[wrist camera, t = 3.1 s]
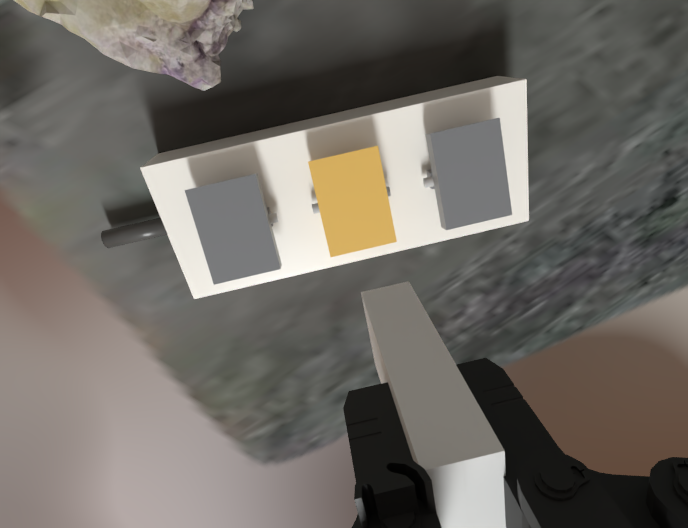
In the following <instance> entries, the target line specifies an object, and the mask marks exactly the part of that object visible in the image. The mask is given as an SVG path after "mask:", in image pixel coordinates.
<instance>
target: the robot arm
mask: <svg viewBox="0 0 688 528" xmlns="http://www.w3.org/2000/svg"><path fill="white" fill-rule="evenodd" d="M361 295H362V300H363V305H364V310H365V315H366V320H367V325H368V330H369V335H370V340H371V345H372V350H373V356H374V361H375V365H376V368H377V371H378V375H379V378H380V381H381V384H378V385H374V386H369V387H365V388H361V389H357V390H352V391H349V393H348V396H347V399H346V402H345V405H344V407H343V409H344V415H345V420H346V426H347V432H348V438H349V443H350V449H351V455H352V460H353V466H354V472H355V478H356V485H355V497H354V500H355V503H356V507H357V511H358V515H357V518H356V521H355V522H354V525H353V526H352V528H688V458H679V457H678V458H677V457H672V458H668V459H665V460H661V461H659V462H658V463H657V464H656V465H655V466H654V467H653V468H652V469H651V473H650V477H645V476H627V475H612V474H605V473H599V472H596V471H593V470H590V469H588V468H587V467H586V466H585V465H584V464H583V463H581V462H580V461H578V460H576V459H574V458H572V457H570V456H568V455H565V454H564V453H563V451H562V450H561V449H560V448H559V447H558V446H557V444H556V443H555V441H554V440H553V439H552V437H551V436H550V434H549V433H548V431H547V430H546V429H545V427H544V426H543V424H542V423H541V422H540V420H539V419H538V417H537V416H536V415H535V413H534V412H533V410H532V409H531V408H530V406H529V405H528V404H527V402H526V401H525V400H524V399H523V396H522V395H521V394H520V392H519V391H518V389H517V388H516V387H514V384H513V382H512V381H511V380H510V378H509V377H508V375H507V374H506V372H505V371H504V370H503V369H502V368H501V367H499V366H498V365H496V364H495V363H493V362H492V361H490V360H488V359H487V358H483V359H479V360H474V361H470V362H466V363H462V364H457V365H456V364H455V362H454V360H453V359H452V357H451V355H450V353H449V352H448V350H447V348H446V346H445V345H444V343H443V341H442V339H441V338H440V336H439V334H438V332H437V330H436V329H435V327H434V325H433V323H432V322H431V320H430V318H429V316H428V315H427V313H426V311H425V309H424V307H423V306H422V304H421V302H420V300H419V299H418V297H417V295H416V293H415V292H414V290H413V288H412V286H411V285H410V283H409V281H408V282H404V283H400V284H395V285H391V286H386V287H382V288H378V289H373V290H369V291H364V292H361Z"/></svg>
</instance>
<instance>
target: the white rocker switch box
mask: <svg viewBox="0 0 688 528" xmlns="http://www.w3.org/2000/svg"><path fill="white" fill-rule="evenodd" d="M495 118H500V124H501V131H502V139H503V147H504V155H505V162H506V170H507V178H508V185H509V193H510V201H511V209H512V215H510V216H505V217H501V218H497V219H493V220H488V221H484V222H480V223H475V224H471V225H467V226H463V227H458V228H454V229H450V230H445V229H443V228H441V223H440V217H439V211H438V205H437V200H436V194H435V188H434V182H433V176H432V170H431V164H430V159H429V153H428V147H427V141H426V135H425V134H430V133H434V132H438V131H443V130H447V129H451V128H456V127H460V126H464V125H469V124H473V123H477V122H482V121H486V120H490V119H495ZM373 146H378V148H379V154H380V159H381V164H382V169H383V174H384V179H385V184H386V189H387V194H388V199H389V204H390V209H391V214H392V219H393V224H394V230H395V235H396V240H397V242H394V243H390V244H386V245H382V246H377V247H373V248H369V249H364V250H360V251H356V252H352V253H347V254H343V255H339V256H335V257H330V253H329V249H328V244H327V240H326V236H325V232H324V227H323V223H322V219H321V215H320V211H319V206H318V202H317V198H316V194H315V190H314V185H313V181H312V177H311V173H310V168H309V164H308V161H313V160H317V159H321V158H326V157H330V156H334V155H339V154H343V153H347V152H352V151H356V150H360V149H365V148H369V147H373ZM140 169H141V171H142V174H143V176H144V178H145V181H146V183H147V186H148V188H149V191H150V193H151V195H152V198H153V200H154V203H155V205H156V208H157V210H158V212H159V215H160V217H161V218H157V219H153V220H148V221H144V222H140V223H135V224H131V225H127V226H122V227H118V228H114V229H109V230H105V231H102V233H101V238H102V241H103V244H104V245H105V246H106V247H107V248H112V247H116V246H120V245H125V244H129V243H133V242H137V241H142V240H146V239H150V238H155V237H159V236H163V235H168V237H169V239H170V242H171V244H172V246H173V249H174V251H175V254H176V256H177V259H178V261H179V263H180V266H181V268H182V271H183V273H184V276H185V278H186V280H187V283H188V285H189V288H190V290H191V293H192V295H193V297H194V299H197V298H201V297H205V296H210V295H214V294H218V293H223V292H227V291H231V290H235V289H240V288H244V287H248V286H252V285H257V284H261V283H265V282H269V281H274V280H278V279H282V278H287V277H291V276H295V275H299V274H304V273H308V272H312V271H316V270H321V269H325V268H329V267H333V266H338V265H342V264H346V263H350V262H355V261H359V260H363V259H368V258H372V257H376V256H380V255H385V254H389V253H393V252H397V251H402V250H406V249H410V248H414V247H419V246H423V245H427V244H432V243H436V242H440V241H444V240H449V239H453V238H457V237H461V236H466V235H470V234H474V233H478V232H483V231H487V230H491V229H495V228H500V227H504V226H508V225H513V224H517V223H521V222H525V221H529V197H528V142H527V86H526V79H521V78H513V77H504V76H494V77H490V78H486V79H481V80H477V81H472V82H468V83H464V84H459V85H455V86H451V87H446V88H442V89H438V90H433V91H429V92H424V93H420V94H416V95H411V96H407V97H403V98H398V99H394V100H390V101H385V102H381V103H377V104H372V105H368V106H363V107H359V108H355V109H350V110H346V111H342V112H337V113H333V114H329V115H324V116H320V117H315V118H311V119H307V120H302V121H298V122H294V123H289V124H285V125H281V126H276V127H272V128H268V129H263V130H259V131H254V132H250V133H246V134H241V135H237V136H233V137H228V138H224V139H220V140H215V141H211V142H206V143H202V144H198V145H193V146H189V147H185V148H180V149H176V150H172V151H167V152H163V153H159V154H157V155H156V156H154V157H153V158H152V159H151V160H149V161H148V162H147V163H146V164H144V165H143V166H142V167H141V168H140ZM256 173H258V177H259V181H260V184H261V188H262V192H263V196H264V199H265V203H266V207H267V211H268V214H269V218H270V222H271V226H272V229H273V233H274V237H275V241H276V244H277V248H278V252H279V256H280V259H281V263H282V266H281V269H279V270H275V271H271V272H266V273H262V274H258V275H253V276H249V277H245V278H241V279H236V280H232V281H228V282H224V283H219V284H215V285H214V284H213V281H212V277H211V274H210V271H209V268H208V264H207V261H206V258H205V255H204V251H203V248H202V245H201V242H200V239H199V235H198V232H197V229H196V226H195V222H194V219H193V216H192V213H191V209H190V206H189V203H188V200H187V197H186V193H185V190H187V189H191V188H196V187H200V186H204V185H209V184H213V183H217V182H222V181H226V180H230V179H235V178H239V177H243V176H248V175H252V174H256Z"/></svg>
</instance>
